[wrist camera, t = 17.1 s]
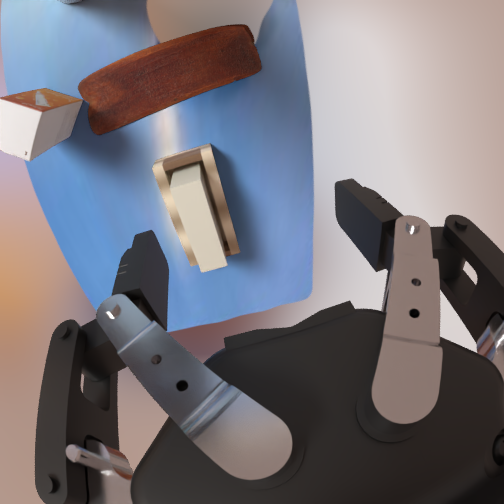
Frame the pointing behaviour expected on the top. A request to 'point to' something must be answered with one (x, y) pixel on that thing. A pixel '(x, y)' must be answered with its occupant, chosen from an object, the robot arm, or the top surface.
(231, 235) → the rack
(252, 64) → the wooden tablet
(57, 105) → the small box
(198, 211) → the strip
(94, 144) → the top surface
